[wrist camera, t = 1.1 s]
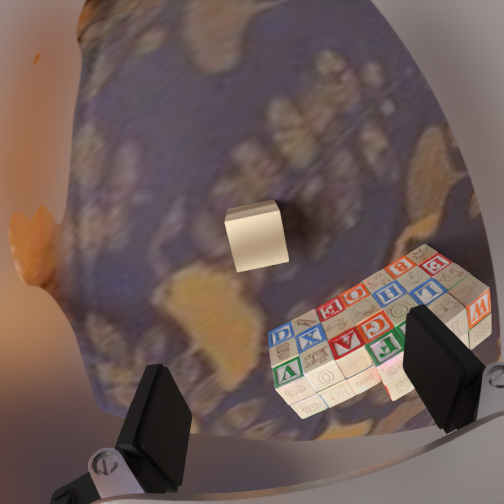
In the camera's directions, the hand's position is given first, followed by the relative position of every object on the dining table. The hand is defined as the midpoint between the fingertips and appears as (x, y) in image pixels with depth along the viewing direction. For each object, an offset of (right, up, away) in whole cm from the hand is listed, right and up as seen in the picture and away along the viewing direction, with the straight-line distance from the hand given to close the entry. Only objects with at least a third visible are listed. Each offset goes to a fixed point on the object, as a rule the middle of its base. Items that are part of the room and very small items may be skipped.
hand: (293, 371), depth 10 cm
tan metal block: (-1, +7, +19) cm, 20 cm away
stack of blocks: (+11, -2, +23) cm, 25 cm away
